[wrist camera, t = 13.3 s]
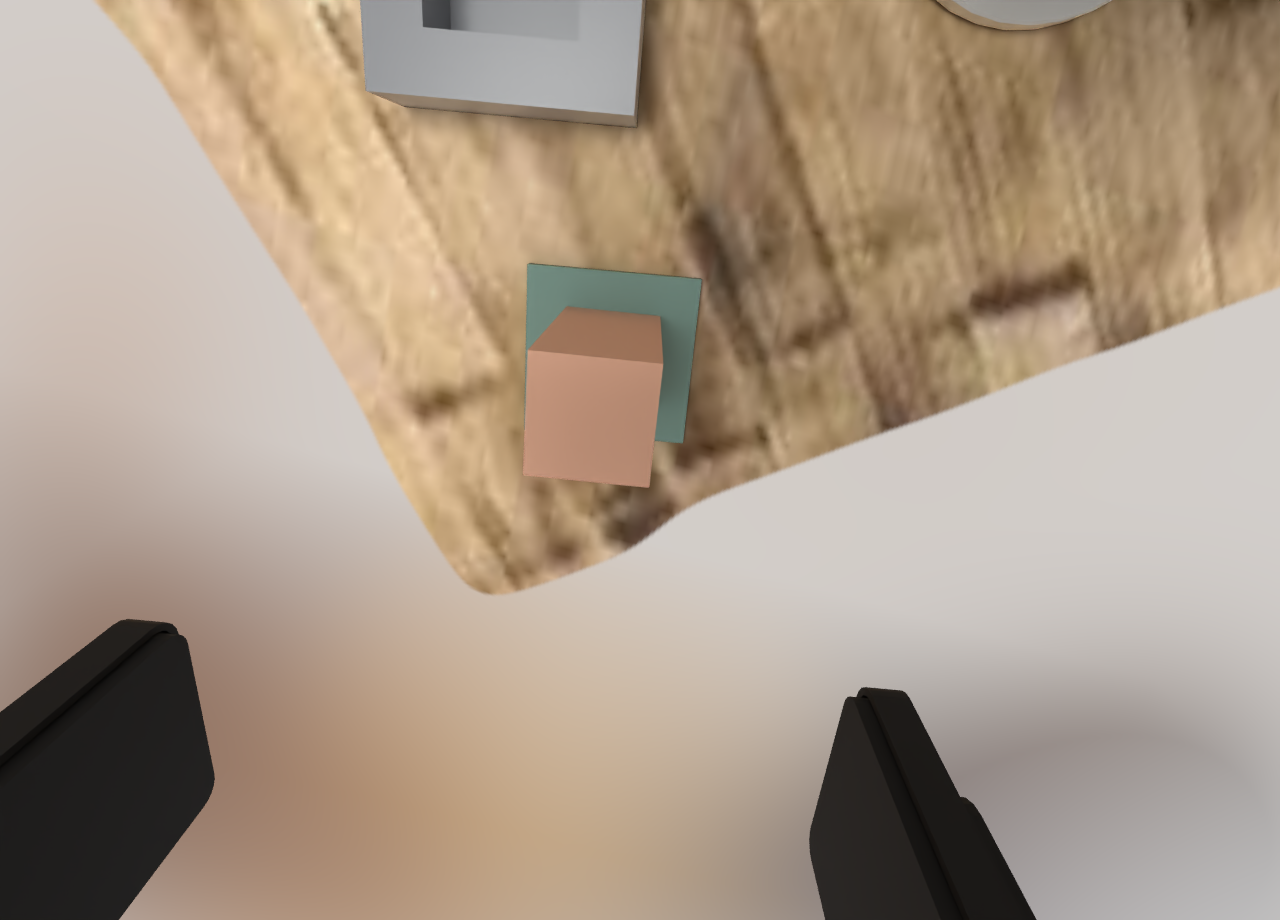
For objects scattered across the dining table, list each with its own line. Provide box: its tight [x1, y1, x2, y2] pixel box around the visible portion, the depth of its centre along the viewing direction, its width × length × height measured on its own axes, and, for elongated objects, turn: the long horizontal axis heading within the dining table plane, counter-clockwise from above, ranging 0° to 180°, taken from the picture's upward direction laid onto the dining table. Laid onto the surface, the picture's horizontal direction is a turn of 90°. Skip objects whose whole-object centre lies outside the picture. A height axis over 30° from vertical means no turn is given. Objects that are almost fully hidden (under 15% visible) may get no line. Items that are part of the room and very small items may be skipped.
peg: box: [523, 306, 663, 488], centre depth 26 cm, size 4×4×10 cm
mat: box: [524, 263, 702, 443], centre depth 31 cm, size 8×8×1 cm
